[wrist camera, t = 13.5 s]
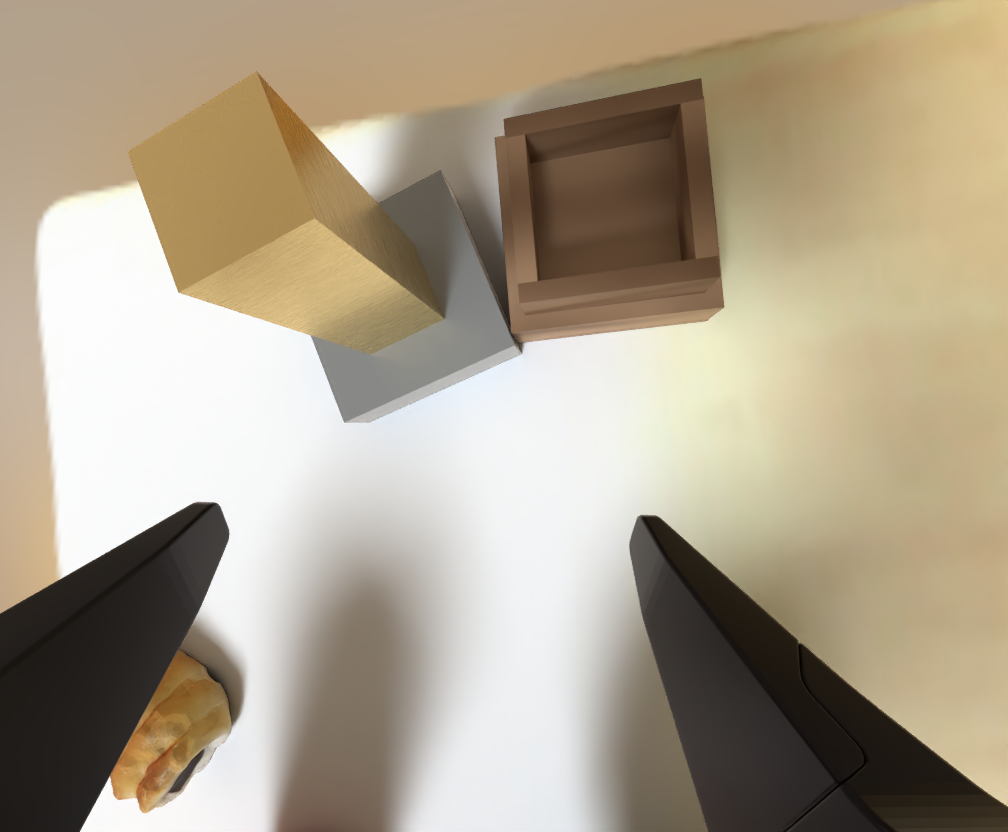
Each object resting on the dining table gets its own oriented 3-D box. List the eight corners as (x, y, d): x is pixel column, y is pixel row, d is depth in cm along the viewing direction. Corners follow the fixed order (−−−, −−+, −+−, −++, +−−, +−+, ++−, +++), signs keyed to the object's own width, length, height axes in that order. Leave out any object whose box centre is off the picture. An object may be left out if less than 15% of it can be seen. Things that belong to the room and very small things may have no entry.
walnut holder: (706, 320, 20) (742, 292, 16) (518, 342, 22) (503, 322, 17) (688, 135, 21) (719, 56, 16) (504, 169, 22) (485, 106, 18)
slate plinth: (521, 354, 22) (514, 345, 19) (369, 422, 23) (344, 422, 21) (455, 197, 22) (440, 170, 20) (311, 273, 24) (280, 256, 21)
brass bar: (444, 319, 20) (314, 218, 10) (370, 354, 20) (178, 292, 11) (413, 242, 20) (256, 71, 10) (341, 279, 21) (127, 151, 11)
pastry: (89, 681, 26) (7, 724, 23) (145, 595, 26) (71, 625, 22) (195, 789, 25) (128, 854, 21) (257, 701, 24) (199, 752, 21)
